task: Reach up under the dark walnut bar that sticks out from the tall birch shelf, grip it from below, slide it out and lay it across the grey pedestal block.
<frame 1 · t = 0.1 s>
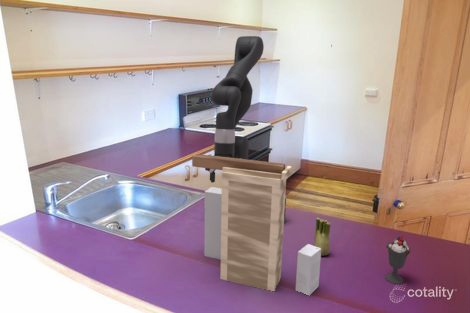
hand: (223, 183, 134), 17 cm above the table, tool pointing down, fingers open, 8 cm apart
sundae: (394, 279, 104), on the table
fennel bulb: (321, 254, 118), on the table
walnut bar: (237, 170, 97), point 32 cm above the table, touching birch shelf
grey pedestal: (218, 254, 116), on the table
canned tomato: (275, 222, 143), on the table
skincare box: (306, 289, 98), on the table
birch shelf: (250, 278, 103), on the table
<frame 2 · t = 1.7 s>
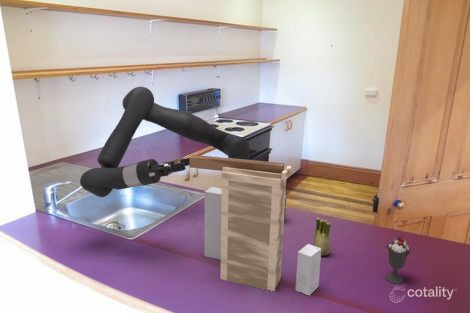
hand: (189, 163, 104), 32 cm above the table, tool pointing upward, fingers open, 8 cm apart
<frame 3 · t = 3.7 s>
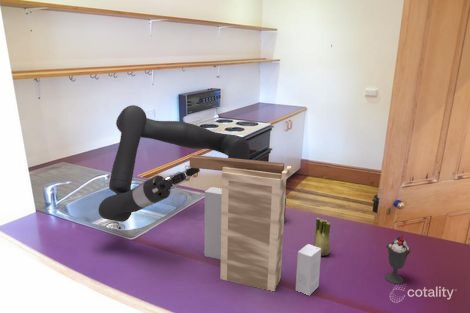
hand: (191, 171, 102), 30 cm above the table, tool pointing upward, fingers open, 8 cm apart
nothing on the table moved.
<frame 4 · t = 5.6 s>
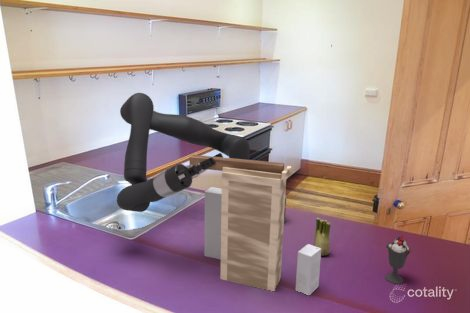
hand: (217, 158, 98), 35 cm above the table, tool pointing upward, fingers open, 5 cm apart
walnut bar: (235, 170, 97), point 32 cm above the table, touching gripper
everything else where it was.
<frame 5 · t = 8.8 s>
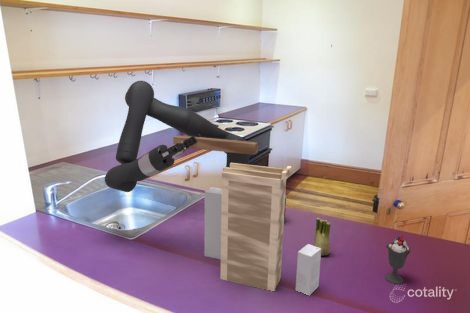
hand: (197, 138, 106), 39 cm above the table, tool pointing upward, fingers closed on walnut bar, 3 cm apart
walnut bar: (214, 149, 105), point 36 cm above the table, touching gripper
everything else where it was.
when the fingers open (26 cm above the table, at t = 11.8 s): walnut bar drops 1 cm, resting on grey pedestal.
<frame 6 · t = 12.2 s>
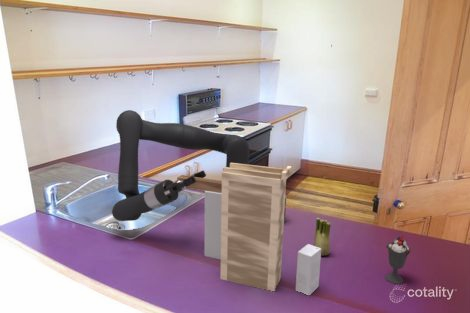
hand: (199, 176, 112), 26 cm above the table, tool pointing upward, fingers open, 6 cm apart
walnut bar: (216, 190, 111), point 22 cm above the table, touching grey pedestal
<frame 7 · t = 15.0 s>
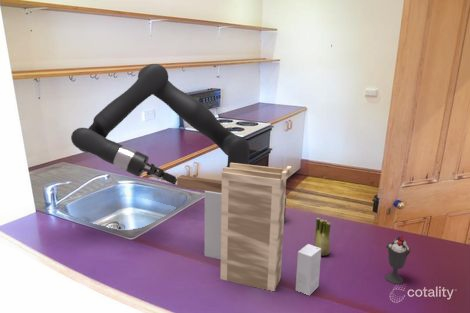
hand: (175, 181, 119), 22 cm above the table, tool tilted 65°, fingers open, 8 cm apart
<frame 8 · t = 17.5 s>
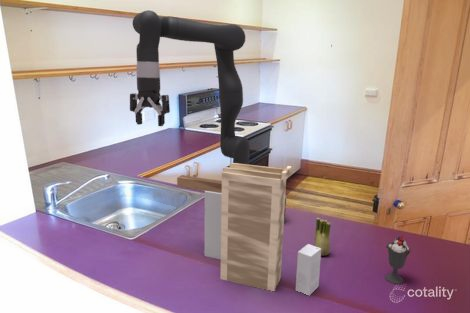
hand: (150, 125, 120), 40 cm above the table, tool pointing down, fingers open, 8 cm apart
at the end: walnut bar inside the target area on the grey pedestal (0.7 cm from its centre), point 22.0 cm above the grey pedestal's base; walnut bar touching grey pedestal; the gripper is holding nothing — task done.
